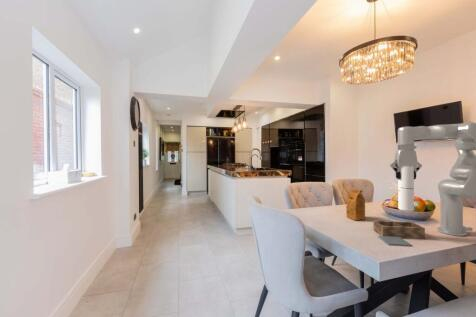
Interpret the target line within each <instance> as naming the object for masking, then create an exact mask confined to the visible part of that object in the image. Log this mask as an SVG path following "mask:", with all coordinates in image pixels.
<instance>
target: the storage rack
mask: <svg viewBox="0 0 476 317" xmlns="http://www.w3.org/2000/svg"><path fill="white" fill-rule="evenodd" d="M372 222H373V223H372V227H373V228H372V229H373V231H374V232H375V233H376V234H378V236H392V237H400V238H402V239H418V240H419V239H421V240H425V239H426V227H423V226H421V225H420V224H418V223H417V224H416V223H415V222H414V221H413V222H412V221H398V220H397V221H393V220H372Z"/></svg>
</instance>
